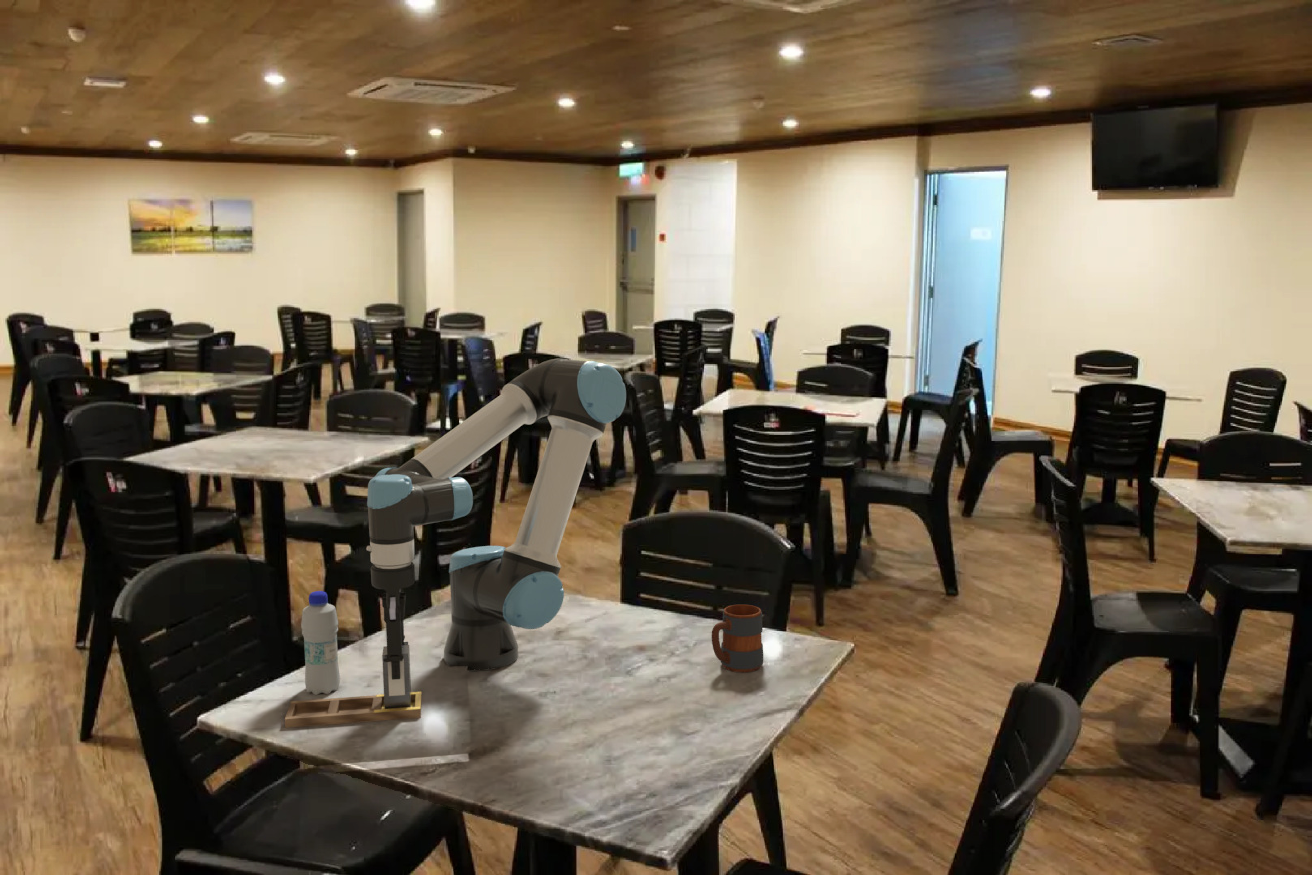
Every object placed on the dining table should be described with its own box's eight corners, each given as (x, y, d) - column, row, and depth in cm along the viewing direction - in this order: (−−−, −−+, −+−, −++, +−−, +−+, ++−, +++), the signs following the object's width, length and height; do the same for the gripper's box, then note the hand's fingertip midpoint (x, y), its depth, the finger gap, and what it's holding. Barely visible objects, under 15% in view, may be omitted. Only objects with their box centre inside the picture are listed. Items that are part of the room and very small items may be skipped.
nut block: (411, 697, 201) (409, 644, 200) (410, 707, 197) (408, 652, 195) (385, 699, 201) (383, 646, 199) (384, 708, 196) (382, 654, 195)
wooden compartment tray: (421, 704, 204) (421, 691, 203) (420, 722, 196) (420, 708, 196) (291, 714, 200) (291, 700, 199) (285, 732, 192) (284, 718, 191)
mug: (698, 667, 222) (698, 611, 220) (744, 655, 229) (744, 600, 227) (726, 680, 215) (726, 623, 213) (772, 667, 222) (773, 611, 220)
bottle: (331, 701, 205) (325, 597, 202) (298, 698, 207) (292, 595, 203) (348, 687, 212) (343, 587, 209) (315, 685, 213) (310, 585, 210)
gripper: (373, 551, 202) (379, 672, 206) (367, 578, 185) (372, 710, 189) (415, 549, 204) (420, 670, 208) (412, 575, 187) (417, 706, 191)
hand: (397, 688), depth 198 cm, fingers closed on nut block, 4 cm apart
